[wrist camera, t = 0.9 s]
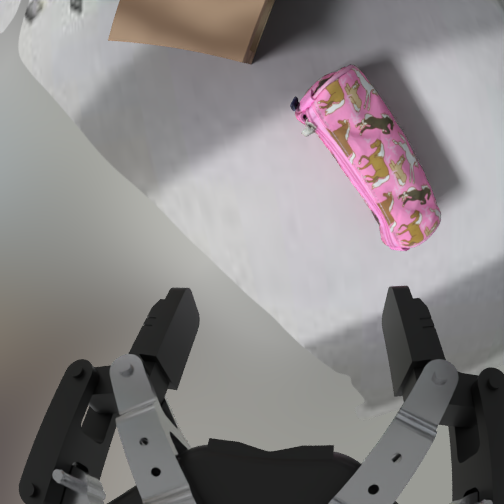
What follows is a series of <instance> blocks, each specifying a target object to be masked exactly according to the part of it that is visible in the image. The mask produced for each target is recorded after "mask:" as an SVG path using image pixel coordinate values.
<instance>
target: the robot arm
mask: <svg viewBox="0 0 504 504" xmlns="http://www.w3.org/2000/svg"><path fill="white" fill-rule="evenodd" d="M198 327H199V313H198V310H197V307H196V304H195V301H194V298H193V295H192V292H191V290H190V289H189V288H171V289H170V291H169V293H168V295H167V296H166V298H165V299H160V300H159V301H158V302H157V303H156V304H155V305H154V306H153V307H152V309H151V311H150V312H149V315H148V316H147V318H146V320H145V322H144V326H142V328H141V330H140V332H139V334H138V336H137V338H136V340H135V342H134V344H133V346H132V348H131V350H130V352H129V354H125V355H122V356H120V357H118V358H117V359H116V360H115V361H114V362H113V363H112V365H111V366H103V367H93V366H92V364H91V363H90V362H89V361H87V360H84V359H81V360H77V361H75V362H73V363H72V364H71V365H70V366H69V367H68V368H67V370H66V372H65V374H64V376H63V378H62V380H61V382H60V384H59V386H58V389H57V390H56V393H55V395H54V397H53V399H52V401H51V404H50V406H49V408H48V410H47V412H46V415H45V417H44V419H43V422H42V424H41V426H40V429H39V431H38V434H37V436H36V439H35V441H34V444H33V446H32V449H31V452H30V454H29V457H28V460H27V463H26V465H25V468H24V471H23V474H22V477H21V480H20V483H19V493H20V496H21V499H22V500H23V501H24V503H26V504H104V502H103V500H104V499H105V496H106V495H105V492H104V491H103V487H102V484H101V482H100V481H99V480H100V477H101V473H102V470H103V467H104V463H105V460H106V457H107V453H108V450H109V447H110V444H111V441H112V438H113V434H114V432H115V429H116V426H117V428H118V432H119V435H120V439H121V442H122V445H123V449H124V451H125V455H126V458H127V460H128V464H129V466H130V469H131V472H132V475H133V477H134V480H135V483H136V486H134V487H133V488H131V489H130V490H128V491H127V492H125V493H124V494H122V495H120V496H119V497H117V498H116V499H114V500H112V501H111V502H109V503H107V504H398V503H397V502H396V501H395V500H396V499H397V498H398V496H399V495H400V493H401V492H402V491H403V489H404V488H405V486H406V485H407V483H408V482H409V480H410V479H411V477H412V476H413V474H414V473H415V471H416V470H417V468H418V466H419V465H420V463H421V462H422V460H423V458H424V456H425V455H426V453H427V451H428V450H429V448H430V446H431V444H432V443H433V440H434V439H435V437H436V434H437V432H436V429H437V426H438V424H439V425H446V426H448V427H449V435H450V446H451V461H452V485H453V486H452V491H453V495H452V496H453V498H452V502H451V503H450V504H504V374H503V373H502V372H501V371H500V370H498V369H496V368H486V369H484V370H483V371H482V372H481V373H480V375H479V376H478V375H471V374H464V373H460V372H458V371H457V370H456V368H455V367H454V365H453V364H451V363H450V362H448V361H446V359H445V357H444V354H443V350H442V347H441V344H440V341H439V338H438V335H437V332H436V329H435V328H434V323H433V321H432V319H431V315H430V312H429V310H428V307H427V306H426V305H425V304H424V303H423V302H422V300H421V299H420V298H414V299H413V298H412V295H411V292H410V289H409V287H408V286H392V287H389V289H388V293H387V297H386V301H385V306H384V310H383V314H382V329H383V334H384V339H385V344H386V349H387V354H388V360H389V366H390V372H391V378H392V384H393V391H394V397H395V396H403V400H404V403H403V405H402V407H401V408H400V410H399V411H398V413H397V415H396V416H395V418H394V419H393V421H392V422H391V424H390V425H389V427H388V428H387V430H386V431H385V433H384V434H383V436H382V437H381V438H380V440H379V441H378V443H377V444H376V445H375V447H374V448H373V449H372V451H371V452H370V453H369V455H368V456H367V457H366V458H365V460H364V461H363V462H362V464H360V463H359V462H358V461H356V460H355V459H353V458H351V457H349V456H347V455H344V454H341V453H338V452H333V450H334V446H333V445H327V446H299V447H294V448H289V449H284V450H278V451H271V452H268V451H264V450H261V449H258V448H255V447H252V446H249V445H246V444H243V443H240V442H235V441H226V440H218V439H212V438H210V439H209V442H208V445H202V446H198V447H194V448H191V446H190V445H189V443H188V441H187V440H186V438H185V437H184V435H183V433H182V432H181V430H180V428H179V425H178V423H177V421H176V419H175V416H174V414H173V412H172V409H171V407H170V405H169V403H168V400H167V398H166V396H165V394H166V391H167V389H173V390H177V388H178V385H179V383H180V380H181V376H182V374H183V371H184V368H185V365H186V362H187V359H188V356H189V353H190V351H191V348H192V345H193V342H194V339H195V336H196V334H197V331H198ZM88 405H89V409H88V411H87V414H86V417H85V419H84V422H83V425H82V427H81V422H82V419H83V417H84V414H85V412H86V409H87V407H88Z"/></svg>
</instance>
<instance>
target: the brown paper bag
mask: <svg viewBox="0 0 504 504" xmlns="http://www.w3.org/2000/svg"><path fill="white" fill-rule="evenodd" d="M274 2H275V0H120V1H119V4H118V8H117V11H116V14H115V17H114V21H113V24H112V28H111V31H110V35H109V39H108V41H122V42H134V43H143V44H152V45H159V46H166V47H173V48H179V49H185V50H190V51H195V52H200V53H205V54H210V55H214V56H219V57H223V58H227V59H231V60H235V61H239V62H243V63H248V64H252V61H253V58H254V56H255V53H256V50H257V47H258V44H259V42H260V39H261V36H262V33H263V31H264V28H265V25H266V23H267V20H268V18H269V15H270V12H271V10H272V7H273V5H274Z"/></svg>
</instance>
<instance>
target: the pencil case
mask: <svg viewBox="0 0 504 504" xmlns="http://www.w3.org/2000/svg"><path fill="white" fill-rule="evenodd" d="M290 107H291V109H292V110H293V111H295V116H296V118H297V119H298V120H299V121H300V122H301V123H303V124H304V125H306V129H304V130H303V131H302V134H303V135H305V136H309V135H311V134H313V133H316V134H317V135H318V137H319V138H320V139H321V140H322V141H323V143H324V144H325V146H326V147H327V148H328V149H329V150H330V152H331V154H332V155H333V157H334V158H335V159H336V161H337V162H338V164H339V165H340V167H341V168H342V170H343V171H344V173H345V174H346V176H347V177H348V178H349V180H350V181H351V182H352V184H353V185H354V186H355V188H356V189H357V191H358V192H359V193H360V195H361V196H362V198H363V199H364V201H365V203H366V204H367V206H368V207H369V208H370V209H371V211H372V213H373V216H374V218H375V219H376V221H377V223H378V224H379V228H380V234H381V239H382V241H383V243H384V244H386V245H387V246H389V247H390V249H392V250H400V251H407V250H409V249H410V248H412V247H416V246H418V245H420V244H422V243H423V242H425V241H426V240H427V239H428V238H429V237H430V236H431V235H432V234H433V233H434V232H435V230H436V229H437V227H438V226H439V224H440V221H441V212H440V210H439V208H438V206H437V203H436V199H435V197H434V195H433V192H432V188H431V186H430V184H429V182H428V181H427V179H426V176H425V173H424V171H423V169H422V168H421V166H420V164H419V162H418V161H417V159H416V157H415V155H414V153H413V151H412V149H411V147H410V145H409V142H408V140H407V139H406V137H405V135H404V133H403V132H402V130H401V129H400V127H399V126H398V125H397V123H396V121H395V119H394V117H393V116H392V114H391V112H390V111H389V109H388V108H387V106H386V105H385V103H384V102H383V100H382V99H381V97H380V96H379V95H378V93H377V92H376V90H375V89H374V88H373V86H372V85H371V84H370V82H369V81H368V79H367V78H366V77H365V75H364V74H363V73H362V72H361V71H360V70H359V68H358V67H356V66H353V65H349V66H347V67H343V68H341V69H340V70H338V71H337V72H333V73H330V74H327V75H325V76H323V77H322V78H320V79H319V80H318V81H317V82H316V83H315V84H314V85H313V86H312V87H311V88H310V89H309V90H308V91H307V92H306V94H305V95H304V97H303V98H302V100H301V101H300V103H299V102H298V98H297V97H294V99H293V101H292V103H291V105H290Z"/></svg>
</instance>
